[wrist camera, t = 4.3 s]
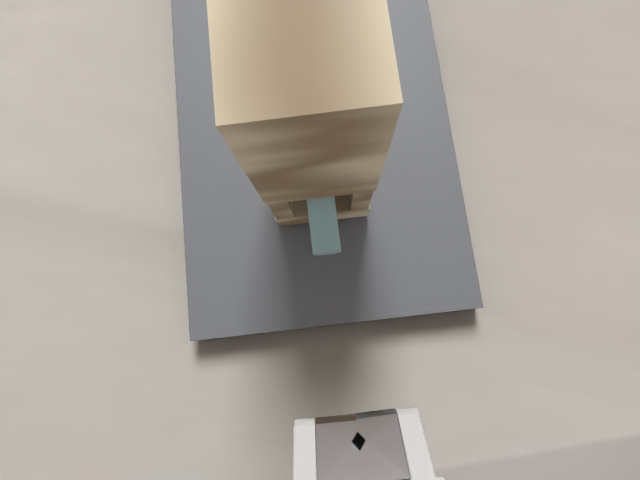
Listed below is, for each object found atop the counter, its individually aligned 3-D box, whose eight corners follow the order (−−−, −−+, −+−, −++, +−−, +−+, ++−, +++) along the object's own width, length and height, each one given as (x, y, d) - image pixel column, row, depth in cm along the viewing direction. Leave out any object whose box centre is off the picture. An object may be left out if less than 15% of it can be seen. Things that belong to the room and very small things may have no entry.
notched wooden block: (278, 226, 21) (215, 126, 10) (271, 149, 22) (204, -22, 11) (368, 215, 21) (403, 102, 10) (357, 139, 22) (379, -45, 11)
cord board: (198, 339, 22) (115, 353, 13) (169, -143, 27) (98, -339, 19) (474, 308, 21) (559, 302, 13) (389, -172, 27) (412, -384, 19)
